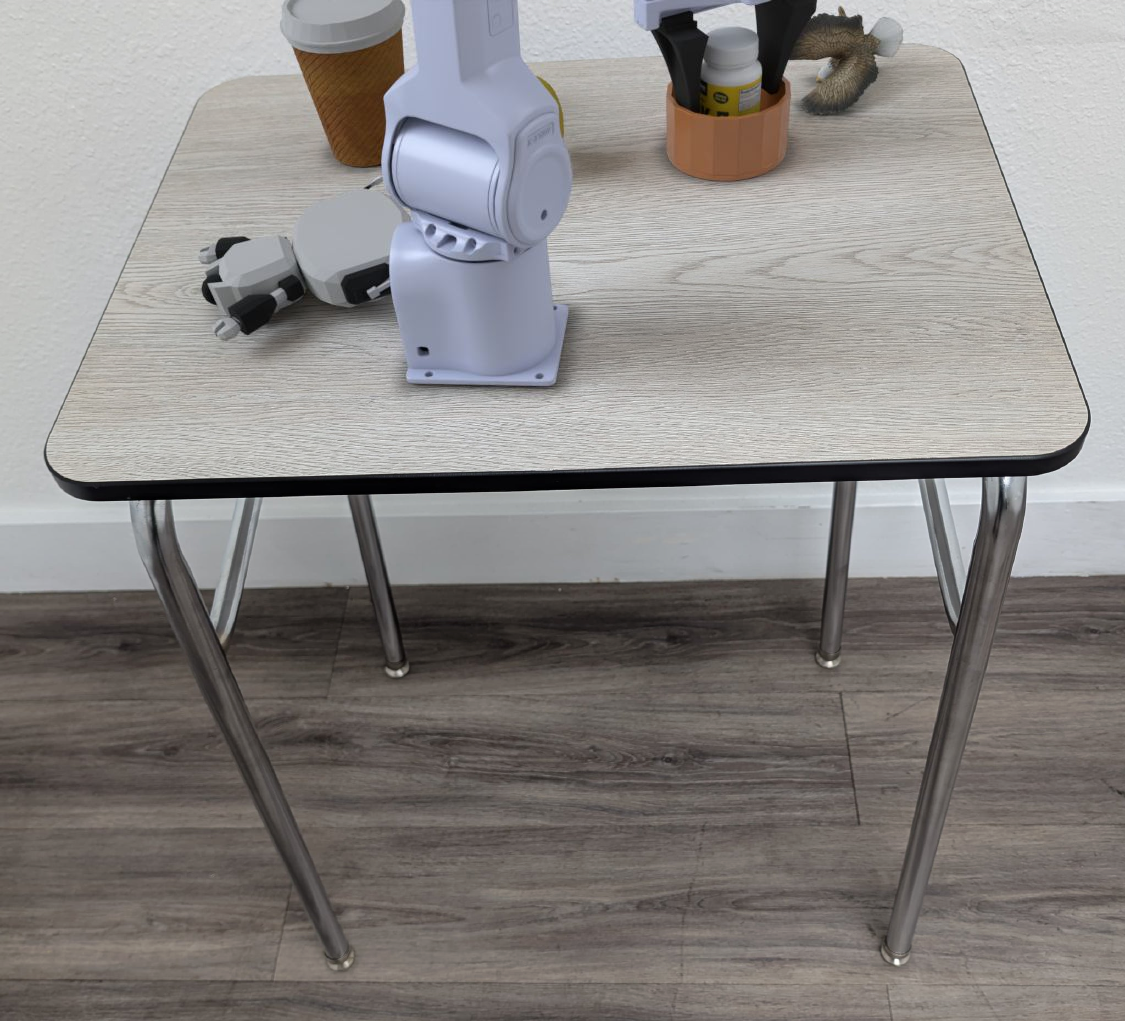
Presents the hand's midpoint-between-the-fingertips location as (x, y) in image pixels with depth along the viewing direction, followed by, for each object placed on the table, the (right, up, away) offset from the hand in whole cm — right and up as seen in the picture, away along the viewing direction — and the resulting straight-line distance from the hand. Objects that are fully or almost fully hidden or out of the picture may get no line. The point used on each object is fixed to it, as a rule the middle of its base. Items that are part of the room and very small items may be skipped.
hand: (727, 100), depth 84 cm
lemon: (-15, -5, +3) cm, 16 cm away
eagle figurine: (+10, +4, +9) cm, 14 cm away
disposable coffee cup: (-28, -1, +8) cm, 29 cm away
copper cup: (0, -3, +3) cm, 4 cm away
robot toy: (-30, -16, -6) cm, 34 cm away
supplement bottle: (0, -3, +3) cm, 4 cm away
